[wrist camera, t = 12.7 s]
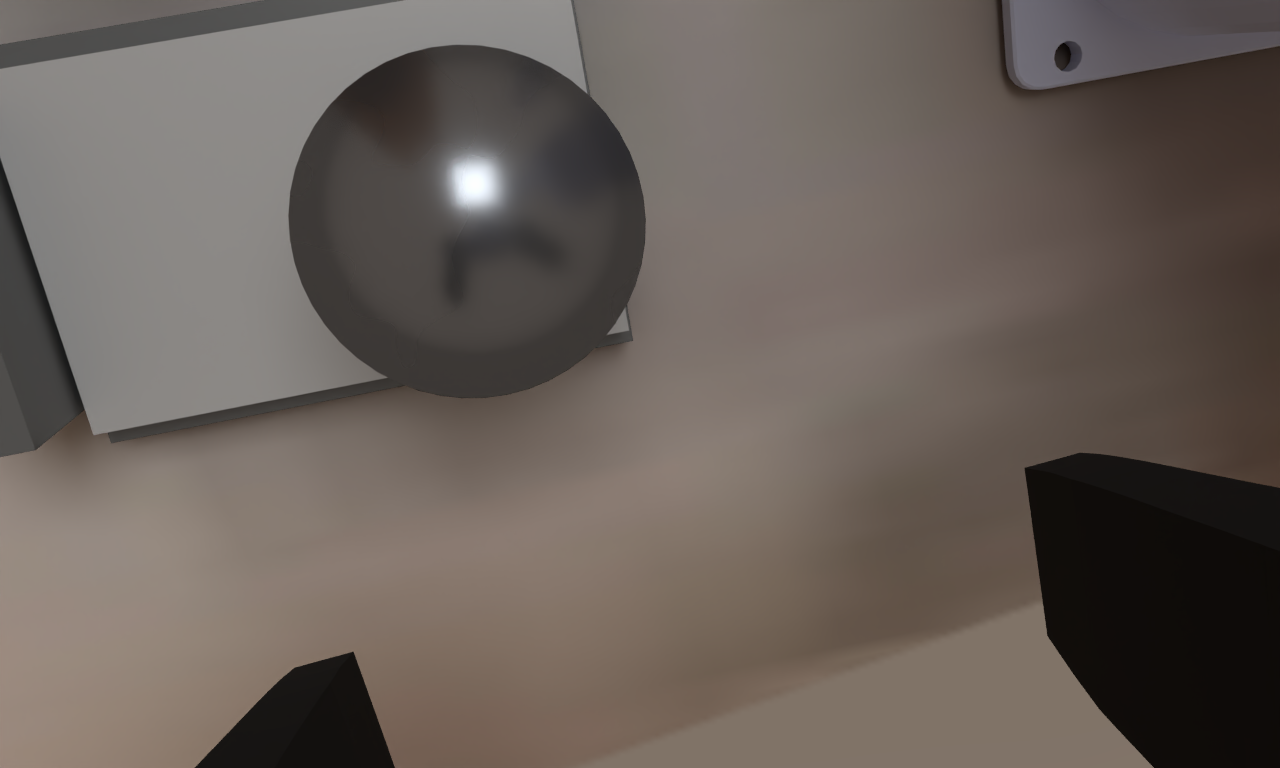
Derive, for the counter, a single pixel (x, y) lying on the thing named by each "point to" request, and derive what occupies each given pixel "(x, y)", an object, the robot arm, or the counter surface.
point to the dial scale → (193, 205)
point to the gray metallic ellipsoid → (467, 221)
